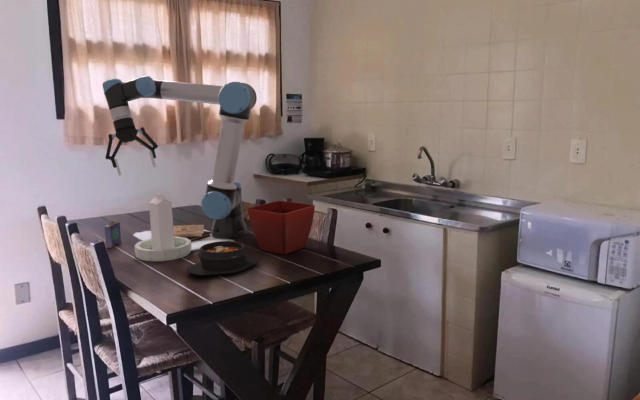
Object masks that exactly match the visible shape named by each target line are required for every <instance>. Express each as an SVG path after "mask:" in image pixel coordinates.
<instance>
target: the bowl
mask: <svg viewBox="0 0 640 400" xmlns="http://www.w3.org/2000/svg"><path fill="white" fill-rule="evenodd" d="M133 247H134V255H135V257H136V259H137V260H140V261H144V262H166V261H167V262H168V261H174V260H178V259H181V258H182V259H183V258H184V257H187V256H189V255H190V254H191V252H192V240H191V239H189V238H187V237H182V236H174V247H175V248H170V249H162V250H152V237H150V238H147V239H144V240H140V241H138V242H136V244H134V246H133Z"/></svg>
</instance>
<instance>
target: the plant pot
mask: <svg viewBox="0 0 640 400" xmlns="http://www.w3.org/2000/svg"><path fill="white" fill-rule="evenodd" d="M315 209H316V205H315V204H309V203H304V202H303V203H302V202H295V201H294V202H293V201H288V200H276V201H270V202H266V203H262V204H258V205H254V206H250V207H247V213H248V217H249V222H250V225H251V229H252V231H253V235H254V236H255V240H256V242H257V245H258V246H259V249H260V250H261V251H267V252H270V253H274V254H275V253H276V254H281V255H287V254H290V253H292V252H295V251H298V250H301V249H303V248H305V247H306V245H307V242H308V239H309V236H310V233H311V229H312V225H313V220H314V217H315V216H314V215H315Z"/></svg>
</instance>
